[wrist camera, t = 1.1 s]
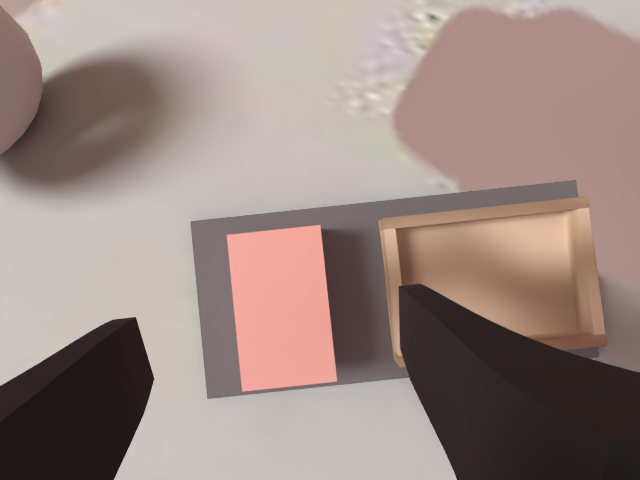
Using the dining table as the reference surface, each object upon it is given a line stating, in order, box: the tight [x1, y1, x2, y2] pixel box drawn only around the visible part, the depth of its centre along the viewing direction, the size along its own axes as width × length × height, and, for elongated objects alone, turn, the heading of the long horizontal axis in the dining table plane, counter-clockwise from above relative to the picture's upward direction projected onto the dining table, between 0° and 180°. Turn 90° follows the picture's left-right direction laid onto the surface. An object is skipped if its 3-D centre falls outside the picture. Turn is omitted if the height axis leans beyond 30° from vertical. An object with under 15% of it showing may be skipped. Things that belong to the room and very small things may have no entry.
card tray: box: [378, 196, 607, 368], centre depth 21 cm, size 8×11×2 cm
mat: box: [191, 180, 599, 399], centre depth 22 cm, size 10×22×1 cm, turn 96°
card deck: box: [227, 225, 337, 392], centre depth 20 cm, size 8×5×3 cm, turn 6°
